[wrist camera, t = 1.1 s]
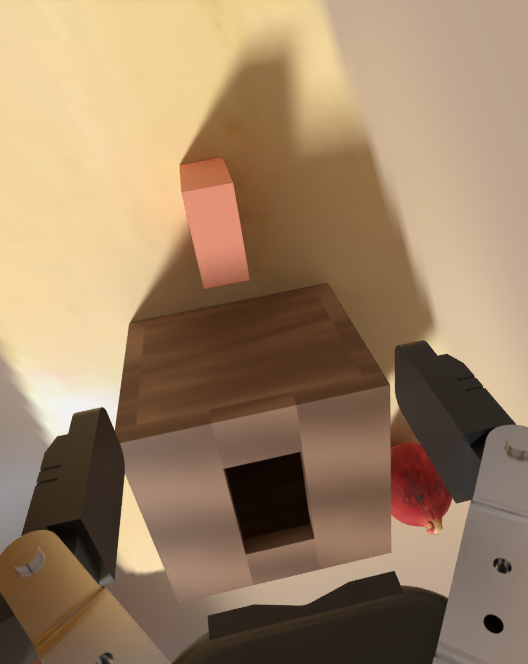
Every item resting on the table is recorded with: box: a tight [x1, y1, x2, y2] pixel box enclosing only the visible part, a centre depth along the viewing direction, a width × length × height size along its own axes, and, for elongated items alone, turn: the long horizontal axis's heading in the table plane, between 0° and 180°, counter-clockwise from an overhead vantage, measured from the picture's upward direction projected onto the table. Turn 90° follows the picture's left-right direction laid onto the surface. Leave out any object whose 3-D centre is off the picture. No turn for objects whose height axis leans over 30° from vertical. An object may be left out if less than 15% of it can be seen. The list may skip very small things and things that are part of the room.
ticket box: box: [115, 284, 391, 603], centre depth 31 cm, size 13×13×11 cm
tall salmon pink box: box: [180, 157, 250, 289], centre depth 27 cm, size 5×2×6 cm, turn 8°
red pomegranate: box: [391, 443, 452, 534], centre depth 39 cm, size 6×6×8 cm
